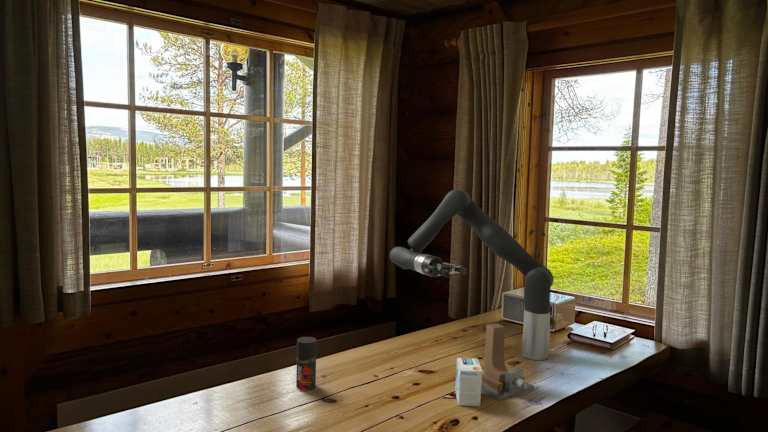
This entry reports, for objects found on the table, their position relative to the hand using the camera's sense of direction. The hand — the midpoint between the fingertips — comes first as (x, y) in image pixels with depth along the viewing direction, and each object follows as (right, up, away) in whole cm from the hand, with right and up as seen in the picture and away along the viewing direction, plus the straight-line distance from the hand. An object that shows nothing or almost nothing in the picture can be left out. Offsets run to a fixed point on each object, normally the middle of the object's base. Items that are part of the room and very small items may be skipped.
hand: (457, 273), depth 193 cm
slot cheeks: (+11, -33, -17) cm, 39 cm away
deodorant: (-50, -33, -23) cm, 64 cm away
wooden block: (+10, -33, -17) cm, 39 cm away
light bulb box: (-1, -35, -27) cm, 44 cm away
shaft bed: (+11, -34, -18) cm, 40 cm away
